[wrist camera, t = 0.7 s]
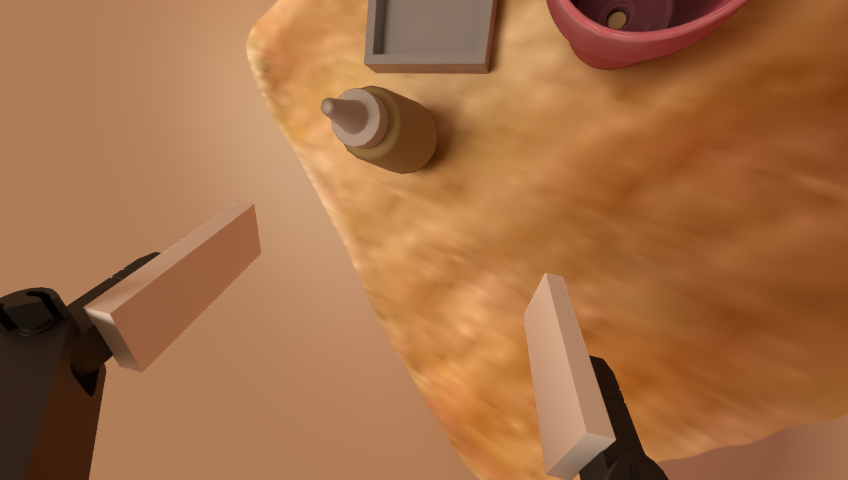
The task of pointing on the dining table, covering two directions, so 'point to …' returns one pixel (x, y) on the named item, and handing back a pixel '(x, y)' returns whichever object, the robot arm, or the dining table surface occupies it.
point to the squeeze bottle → (383, 128)
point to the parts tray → (430, 36)
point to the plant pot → (637, 27)
